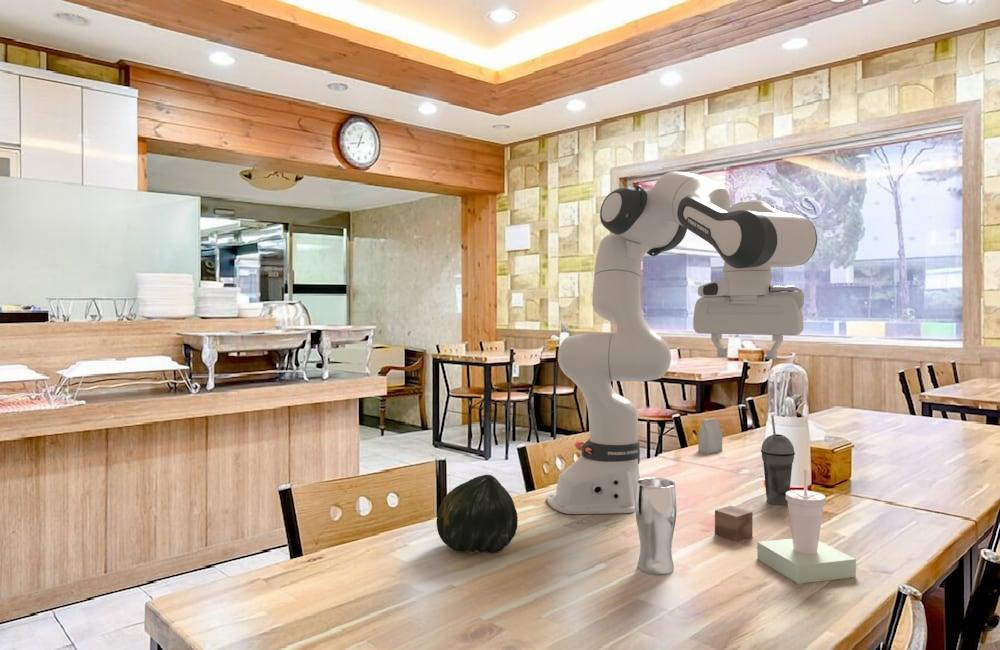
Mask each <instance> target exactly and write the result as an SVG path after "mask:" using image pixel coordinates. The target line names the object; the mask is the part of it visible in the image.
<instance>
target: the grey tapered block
mask: <svg viewBox="0 0 1000 650" xmlns="http://www.w3.org/2000/svg"><path fill="white" fill-rule="evenodd" d="M719 422H720V421H719V418H718V417H713V418H712V417H711V418H708V419H702V422H701V426H700V428H699V430H698V433H697V434H698V435H697V437H698V439H697V440H698V442H697V443H698V451H697V452H699V451H700V452H699V453H703V452H704V454H708V453H709V454H713V452H714V453H717V452H722V451H723V429H722V428H721V425H720V423H719Z"/></svg>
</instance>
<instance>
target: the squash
mask: <svg viewBox="0 0 1000 650" xmlns="http://www.w3.org/2000/svg"><path fill="white" fill-rule="evenodd" d="M518 521H519V520H518V511H517V508H516V506H515V503H514V500H513V498H512V496H511V495H510V493H509V492H508V490H507V489H506V488H505V487H504V486H503V485H502V484H501V483H500V481H499V480H498V479H497V478H496V477H495V476H493V475H492V474H483V475H479V476H476V477H473V478H471V479H470V480H467V481H466V482H463V483H461V484H459V485H457V486H456V487H454V488H453V489H451V490H449V492H448V493H447V494H446V495H445V496H444V497H443V499H442V502H441V504H440V505H439V507H438V510H437V514H436V528H437V529H436V530H437V534H438V536H439V538H440V540H441V541H442V543H444V544H445V545H446V547H448V548H449V549H450V550H451V551H454V552H456V553H461V552H463V553H464V552H465V551H466V552H467V553H474V552H475V551H477V552H478V553H489V554H497V553H500V552H502V551H503V550H504V549H505V548H506V547H507V546H509V544H510V543H511V542H512V541H513V539H514V537H515V535H516V534H517V533H516V532H517V529H518V523H519V522H518Z"/></svg>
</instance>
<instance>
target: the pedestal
mask: <svg viewBox="0 0 1000 650" xmlns="http://www.w3.org/2000/svg"><path fill="white" fill-rule="evenodd" d="M756 544H757V545H756V546H757V548H756V549H757V556H756V557H757V560H759V561H761V562H762V563H764V564H766V565H767V566H768V567H770V568H772V569H774V570H775V571H776V572H778V573H780V574H781V575H783V576H785V577H786V578H788V579H790V580H791V581H793V582H794V583H796V584H809V583H816V582H824V581H825V582H826V581H833V580H841V579H851V578H850V577H852V578H856V577H857V575H856V574H857V572H856V571H857V559H856V558H855V557H852V556H850V555H849V554H846V553H844V552H842V551H840V550H839V549H836V548H834V547H833V546H830V545H828V544H827V543H825V542H823V541H821V540H819V542H818V549H817V553H816V554H802V553H799V552H796V551H795V550H794V548H793V540H792V538H786V539H783V538H782V539H774V540H763V541H757V543H756Z"/></svg>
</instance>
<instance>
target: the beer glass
mask: <svg viewBox="0 0 1000 650" xmlns="http://www.w3.org/2000/svg"><path fill="white" fill-rule="evenodd" d="M636 483H637V484H636V496H635V511H634V512H635V518H636V519H635V521H636V527H637V531H638V538H639V548H640V549H639V555H638V561H637V562H638V563H637V568H638V569H639V570H640V571H641V572H643V573H645V574H648V575H654V576H665V575H670V574H671V573H672V572H673V571H675V567H674V566H675V565H674V561H673V560H674V559H673V556H672V555H673V552H672V547H673V546H672V544H673V537H674V533H675V526H676V519H677V508H678V507H677V493H676V492H677V491H676V482H675V481H673V480H670V479H668V478H661V477H642V478H640V479H639V480H637V482H636Z"/></svg>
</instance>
